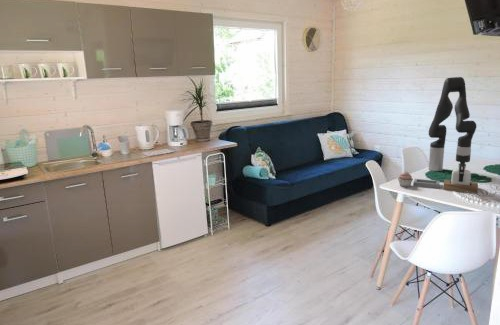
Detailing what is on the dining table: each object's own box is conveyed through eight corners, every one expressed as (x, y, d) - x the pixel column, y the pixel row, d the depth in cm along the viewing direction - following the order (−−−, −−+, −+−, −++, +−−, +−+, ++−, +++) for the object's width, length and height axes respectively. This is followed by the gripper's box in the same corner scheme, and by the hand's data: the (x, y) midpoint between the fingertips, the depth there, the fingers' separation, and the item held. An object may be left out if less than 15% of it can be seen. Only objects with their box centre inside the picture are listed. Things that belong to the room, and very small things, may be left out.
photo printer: (469, 188, 223) (471, 169, 220) (470, 190, 219) (471, 170, 216) (450, 187, 227) (451, 168, 224) (450, 188, 223) (452, 169, 220)
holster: (414, 182, 240) (415, 178, 239) (439, 184, 232) (439, 180, 232) (413, 185, 233) (413, 182, 232) (438, 188, 225) (438, 184, 225)
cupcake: (399, 182, 240) (400, 168, 238) (414, 184, 234) (415, 170, 232) (395, 186, 233) (395, 171, 231) (410, 188, 227) (411, 173, 225)
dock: (444, 184, 232) (444, 179, 231) (477, 187, 223) (477, 182, 222) (443, 189, 223) (443, 184, 222) (477, 193, 214) (477, 187, 213)
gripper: (456, 150, 225) (454, 176, 229) (455, 155, 213) (453, 182, 217) (470, 151, 221) (468, 177, 225) (470, 156, 210) (467, 184, 214)
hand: (460, 180), depth 221 cm, fingers open, 6 cm apart
